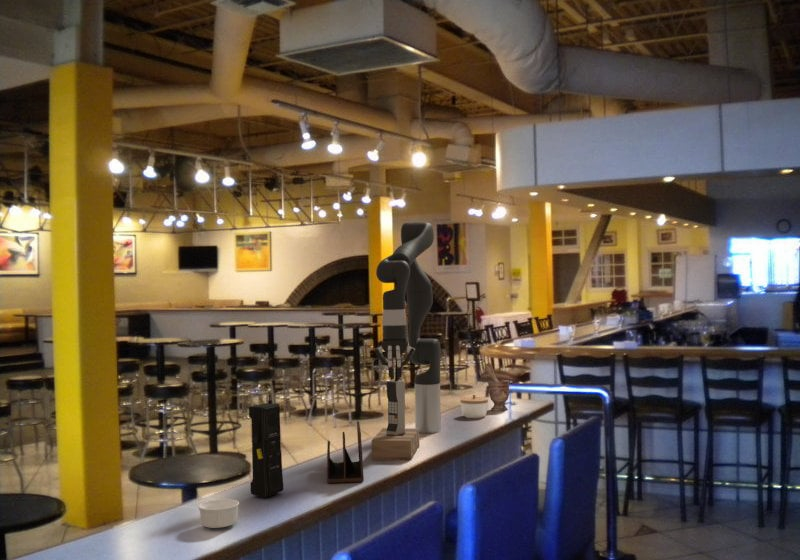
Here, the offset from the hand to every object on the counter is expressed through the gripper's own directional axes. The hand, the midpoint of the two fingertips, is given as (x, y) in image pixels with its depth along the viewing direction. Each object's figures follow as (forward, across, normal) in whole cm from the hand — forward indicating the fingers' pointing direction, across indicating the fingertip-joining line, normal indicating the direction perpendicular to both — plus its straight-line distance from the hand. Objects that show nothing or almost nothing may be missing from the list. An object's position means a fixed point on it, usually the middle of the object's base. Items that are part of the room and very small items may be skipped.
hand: (395, 378), depth 245 cm
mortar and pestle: (+23, -29, -81) cm, 89 cm away
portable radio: (+24, +26, +50) cm, 61 cm away
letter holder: (+24, +11, +27) cm, 38 cm away
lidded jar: (+23, -21, -65) cm, 72 cm away
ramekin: (+24, +29, +74) cm, 84 cm away
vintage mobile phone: (+18, 0, 0) cm, 18 cm away
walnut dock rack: (+23, 0, 0) cm, 23 cm away
